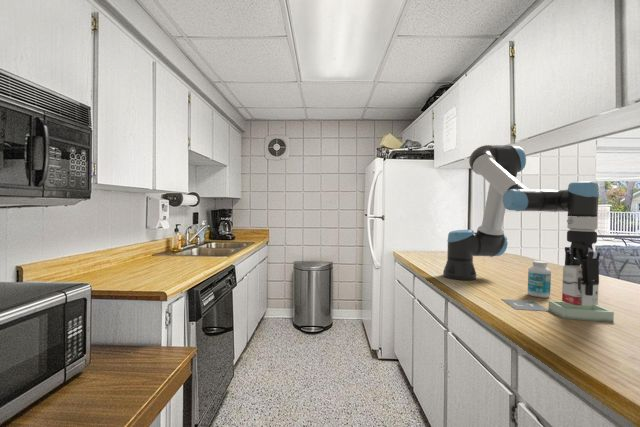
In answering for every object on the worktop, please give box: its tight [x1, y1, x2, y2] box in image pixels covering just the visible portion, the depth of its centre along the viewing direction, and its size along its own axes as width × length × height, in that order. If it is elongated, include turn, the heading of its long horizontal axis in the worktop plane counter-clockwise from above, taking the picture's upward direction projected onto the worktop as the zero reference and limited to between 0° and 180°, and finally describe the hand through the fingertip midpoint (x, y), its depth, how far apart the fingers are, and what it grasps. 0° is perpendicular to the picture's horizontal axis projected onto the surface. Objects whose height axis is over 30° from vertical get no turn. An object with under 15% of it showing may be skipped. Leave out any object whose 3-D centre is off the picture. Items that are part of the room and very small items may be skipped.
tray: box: [548, 300, 615, 323], centre depth 104 cm, size 9×13×3 cm
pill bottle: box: [527, 260, 552, 299], centre depth 128 cm, size 8×7×14 cm
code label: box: [501, 298, 551, 312], centre depth 115 cm, size 12×11×1 cm
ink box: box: [561, 265, 599, 306], centre depth 104 cm, size 9×5×12 cm, turn 97°
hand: (579, 302), depth 104 cm, fingers closed on ink box, 6 cm apart
